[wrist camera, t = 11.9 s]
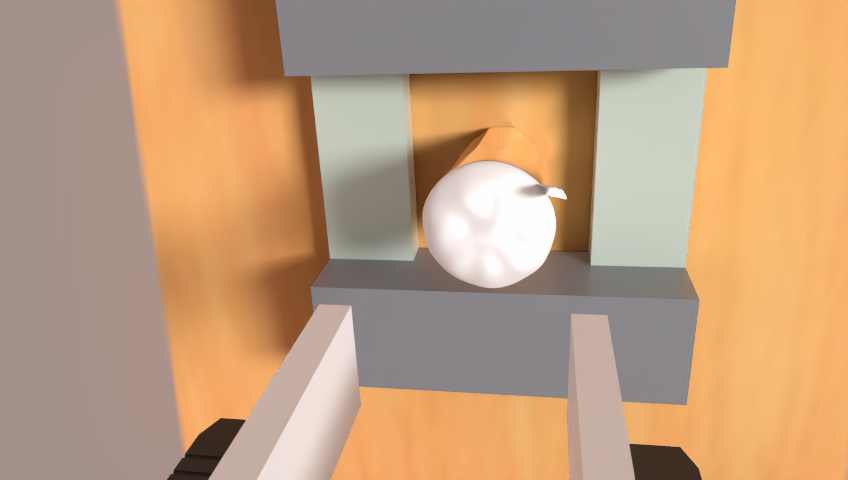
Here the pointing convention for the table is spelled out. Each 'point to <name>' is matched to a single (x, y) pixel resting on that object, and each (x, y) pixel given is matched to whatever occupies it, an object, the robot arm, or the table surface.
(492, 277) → the milkshake
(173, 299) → the table surface
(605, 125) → the frame
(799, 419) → the table surface
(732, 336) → the table surface
